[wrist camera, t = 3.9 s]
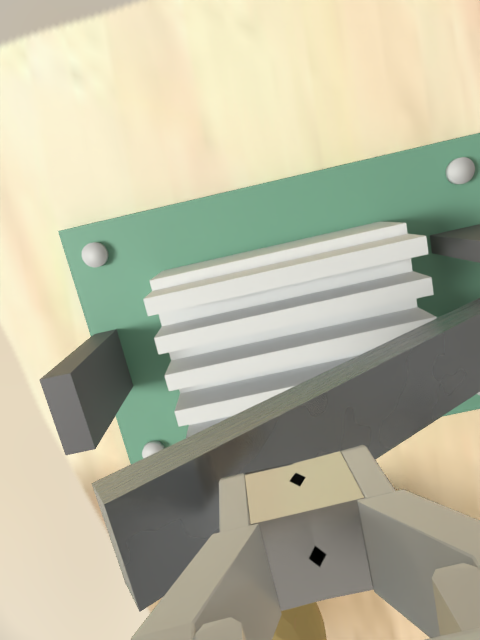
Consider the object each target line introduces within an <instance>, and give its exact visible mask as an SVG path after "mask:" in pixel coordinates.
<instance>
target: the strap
mask: <svg viewBox="0 0 480 640" xmlns="http://www.w3.org/2000/svg"><path fill="white" fill-rule="evenodd" d="M479 392H480V298H478V299H476V300H474V301H472V302H470V303H468V304H465V305H463V306H461V307H459V308H457V309H455V310H453V311H451V312H449V313H447V314H445V315H442V316H440V317H438V318H436V319H434V320H432V321H430V322H428V323H426V324H424V325H422V326H419V327H417V328H415V329H413V330H411V331H409V332H407V333H405V334H403V335H401V336H399V337H396V338H394V339H392V340H390V341H388V342H386V343H384V344H382V345H380V346H378V347H376V348H374V349H371V350H369V351H367V352H365V353H363V354H361V355H359V356H357V357H355V358H353V359H351V360H348V361H346V362H344V363H342V364H340V365H338V366H336V367H334V368H332V369H330V370H328V371H325V372H323V373H321V374H319V375H317V376H315V377H313V378H311V379H309V380H307V381H305V382H302V383H300V384H298V385H296V386H294V387H292V388H290V389H288V390H286V391H284V392H282V393H280V394H277V395H275V396H273V397H271V398H269V399H267V400H265V401H263V402H261V403H259V404H257V405H254V406H252V407H250V408H248V409H246V410H244V411H242V412H240V413H238V414H236V415H234V416H231V417H229V418H227V419H225V420H223V421H221V422H219V423H217V424H215V425H213V426H211V427H209V428H206V429H204V430H202V431H200V432H198V433H196V434H194V435H192V436H190V437H188V438H186V439H183V440H181V441H179V442H177V443H175V444H173V445H171V446H169V447H167V448H165V449H163V450H160V451H158V452H156V453H154V454H152V455H150V456H148V457H146V458H144V459H142V460H140V461H137V462H135V463H133V464H131V465H129V466H127V467H125V468H123V469H121V470H119V471H117V472H115V473H112V474H110V475H108V476H106V477H104V478H102V479H100V480H98V481H96V482H94V483H92V486H93V489H94V492H95V494H96V497H97V500H98V503H99V506H100V509H101V512H102V515H103V518H104V521H105V524H106V527H107V530H108V533H109V536H110V539H111V542H112V545H113V548H114V551H115V554H116V557H117V559H118V563H119V566H120V568H121V571H122V574H123V577H124V580H125V583H126V585H127V587H128V589H129V591H130V593H131V595H132V597H133V599H134V601H135V603H136V605H137V607H138V609H139V611H142V610H143V609H145V608H146V607H148V606H149V605H151V604H153V603H154V602H156V601H157V600H159V599H160V598H162V597H163V596H164V595H165V594H166V593H167V592H168V590H169V589H170V588H171V586H172V585H173V584H174V583H175V581H176V580H177V579H178V578H179V576H180V575H181V574H182V572H183V571H184V570H185V569H186V567H187V566H188V565H189V563H190V562H191V561H192V560H193V558H194V557H195V556H196V554H197V553H198V552H199V551H200V549H201V548H202V547H203V546H204V544H205V543H206V542H207V540H208V539H209V538H210V537H211V535H212V534H215V533H219V532H220V527H219V481H220V479H222V478H226V477H230V476H234V475H238V474H242V473H243V474H245V473H248V472H252V471H257V470H262V469H266V468H271V467H276V466H280V465H285V464H290V463H297V462H301V461H305V460H308V459H312V458H316V457H320V456H324V455H327V454H331V453H335V452H339V451H342V450H346V449H349V448H353V447H357V446H360V445H364V446H366V447H367V448H368V450H369V451H370V453H371V454H372V456H373V457H374V459H377V458H378V457H380V456H381V455H383V454H384V453H386V452H388V451H389V450H391V449H392V448H394V447H395V446H397V445H398V444H400V443H401V442H403V441H405V440H406V439H408V438H409V437H411V436H412V435H414V434H415V433H417V432H418V431H420V430H422V429H423V428H425V427H426V426H428V425H429V424H431V423H432V422H434V421H435V420H437V419H439V418H440V417H442V416H443V415H445V414H446V413H448V412H449V411H451V410H452V409H454V408H456V407H457V406H459V405H460V404H462V403H463V402H465V401H466V400H468V399H470V398H471V397H473V396H474V395H476V394H477V393H479Z"/></svg>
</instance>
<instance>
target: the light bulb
mask: <svg viewBox="0 0 480 640" xmlns="http://www.w3.org/2000/svg"><path fill="white" fill-rule="evenodd" d="M281 614H282V615H281V617H280V620H279V623H278V625H277V628H276V630H275V633H274V636H273V638H272V640H327V639H326V632H325V627H324V622H323V618H322V615H321V612H320V610H319V608H318V606H317V603H316V602H314V603H310V604H306V605H303V606H299V607H295V608H291V609H288V610H284V611H281Z"/></svg>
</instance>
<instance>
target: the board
mask: <svg viewBox="0 0 480 640" xmlns="http://www.w3.org/2000/svg"><path fill="white" fill-rule="evenodd" d="M58 232H59V235H60V239H61V242H62V245H63V248H64V251H65V255H66V258H67V261H68V264H69V267H70V271H71V274H72V277H73V280H74V284H75V287H76V290H77V293H78V296H79V300H80V303H81V306H82V309H83V312H84V316H85V319H86V322H87V325H88V328H89V332H90V335H91V337H90V338H89V339H88V340H87V341H85V342H84V343H83V344H82V345H81V346H79V347H78V348H77V349H76V350H75V351H73V352H72V353H71V354H70V355H69V356H67V357H66V358H65V359H64V360H63V361H61V362H60V363H59V364H58V365H57V366H55V367H54V368H53V369H52V370H51V371H50V372H48V373H47V374H46V375H45V376H44V377H42V378H41V379H40V383H41V385H42V388H43V391H44V394H45V397H46V400H47V403H48V406H49V409H50V411H51V414H52V417H53V420H54V423H55V426H56V429H57V432H58V434H59V437H60V440H61V443H62V446H63V449H64V452H65V455H69V454H74V453H79V452H83V451H88V450H93V449H96V447H97V445H98V444H99V442H100V440H101V439H102V437H103V435H104V434H105V432H106V430H107V429H108V427H109V425H110V424H111V422H112V421H113V419H114V417H115V416H116V418H117V421H118V425H119V428H120V431H121V434H122V438H123V441H124V444H125V447H126V450H127V454H128V457H129V460H130V463H131V464H133V463H135V462H137V461H140V460H142V459H144V458H146V457H148V456H150V455H152V454H154V453H156V452H158V451H160V450H163V449H165V448H167V447H169V446H171V445H173V444H175V443H177V442H179V441H181V440H183V439H186V438H188V437H190V436H192V435H194V434H196V433H198V432H200V431H202V430H204V429H206V428H209V427H211V426H213V425H215V424H217V423H219V422H221V421H223V420H225V419H227V418H229V417H231V416H234V415H236V414H238V413H240V412H242V411H244V410H246V409H248V408H250V407H252V406H254V405H257V404H259V403H261V402H263V401H265V400H267V399H269V398H271V397H273V396H275V395H277V394H280V393H282V392H284V391H286V390H288V389H290V388H292V387H294V386H296V385H298V384H300V383H302V382H305V381H307V380H309V379H311V378H313V377H315V376H317V375H319V374H321V373H323V372H325V371H328V370H330V369H332V368H334V367H336V366H338V365H340V364H342V363H344V362H346V361H348V360H351V359H353V358H355V357H357V356H359V355H361V354H363V353H365V352H367V351H369V350H371V349H374V348H376V347H378V346H380V345H382V344H384V343H386V342H388V341H390V340H392V339H394V338H396V337H399V336H401V335H403V334H405V333H407V332H409V331H411V330H413V329H415V328H417V327H419V326H422V325H424V324H426V323H428V322H430V321H432V320H434V319H436V318H438V317H440V316H442V315H445V314H447V313H449V312H451V311H453V310H455V309H457V308H459V307H461V306H463V305H465V304H468V303H470V302H472V301H474V300H476V299H478V298H480V133H478V134H473V135H469V136H465V137H460V138H456V139H452V140H448V141H443V142H439V143H435V144H430V145H426V146H422V147H417V148H413V149H409V150H405V151H400V152H396V153H392V154H387V155H383V156H379V157H375V158H370V159H366V160H362V161H357V162H353V163H349V164H344V165H340V166H336V167H332V168H327V169H323V170H319V171H314V172H310V173H306V174H302V175H297V176H293V177H289V178H284V179H280V180H276V181H272V182H267V183H263V184H259V185H254V186H250V187H246V188H241V189H237V190H233V191H229V192H224V193H220V194H216V195H211V196H207V197H203V198H199V199H194V200H190V201H186V202H181V203H177V204H173V205H168V206H164V207H160V208H156V209H151V210H147V211H143V212H138V213H134V214H130V215H126V216H121V217H117V218H113V219H108V220H104V221H100V222H96V223H91V224H87V225H83V226H78V227H74V228H70V229H65V230H61V231H58ZM476 409H480V392H479V393H477V394H476V395H474V396H473V397H471V398H470V399H468V400H466V401H465V402H463V403H462V404H460V405H459V406H457V407H456V408H454V409H452V410H451V411H449V412H448V413H446V414H445V415H443V416H447V415H451V414H456V413H461V412H466V411H471V410H476Z"/></svg>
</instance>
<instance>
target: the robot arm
mask: <svg viewBox="0 0 480 640" xmlns="http://www.w3.org/2000/svg"><path fill="white" fill-rule="evenodd" d="M219 527H220V532H219V533H215V534H212V535H211V537H210V538H209V539H208V540H207V542H206V543H205V544H204V546H203V547H202V548H201V549H200V551H199V552H198V553H197V554H196V556H195V557H194V558H193V560H192V561H191V562H190V563H189V565H188V566H187V567H186V569H185V570H184V571H183V572H182V574H181V575H180V576H179V578H178V579H177V580H176V581H175V583H174V584H173V585H172V586H171V588H170V589H169V590H168V592H167V593H166V594H165V595H164V597H163V598H162V599H161V601H160V602H159V603H158V604H157V606H156V607H155V608H154V609H153V611H152V612H151V613H150V615H149V616H148V617H147V618H146V620H145V621H144V622H143V624H142V625H141V626H140V627H139V629H138V630H137V631H136V633H135V634H134V635H133V636H132V638H131V640H272V638H273V636H274V633H275V630H276V628H277V625H278V623H279V620H280V617H281V615H282V614H281V611H284V610H288V609H291V608H295V607H299V606H303V605H306V604H310V603H314V602H317V601H321V600H325V599H329V598H334V597H339V596H344V595H349V594H354V593H359V592H364V591H369V590H374V592H375V593H376V594H378V595H379V596H380V597H381V598H383V599H384V600H385V601H386V602H387V603H389V604H390V605H391V606H392V607H393V608H395V609H396V610H397V611H398V612H400V613H401V614H402V615H403V616H404V617H406V618H407V619H408V620H409V621H411V622H412V623H413V624H414V625H415V626H417V627H418V628H419V629H420V630H421V631H423V632H424V633H425V634H426V635H428V636H429V637H430V639H426V640H480V521H479V520H477V519H474V518H472V517H470V516H467V515H465V514H462V513H460V512H457V511H455V510H452V509H450V508H448V507H445V506H443V505H440V504H438V503H435V502H433V501H430V500H428V499H425V498H423V497H421V496H418V495H416V494H413V493H411V492H408V491H406V490H398V491H395V489H394V488H393V486H392V485H391V483H390V482H389V480H388V478H387V477H386V475H385V474H384V472H383V471H382V469H381V468H380V466H379V465H378V463H377V462H376V460H375V459H374V457H373V456H372V454H371V453H370V451H369V450H368V448H367V447H366V446H364V445H360V446H357V447H353V448H349V449H346V450H342V451H339V452H335V453H331V454H327V455H324V456H320V457H316V458H312V459H308V460H305V461H301V462H297V463H290V464H285V465H280V466H276V467H271V468H266V469H262V470H257V471H252V472H248V473H245V474H243V473H242V474H238V475H234V476H230V477H226V478H222V479H220V481H219Z"/></svg>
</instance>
